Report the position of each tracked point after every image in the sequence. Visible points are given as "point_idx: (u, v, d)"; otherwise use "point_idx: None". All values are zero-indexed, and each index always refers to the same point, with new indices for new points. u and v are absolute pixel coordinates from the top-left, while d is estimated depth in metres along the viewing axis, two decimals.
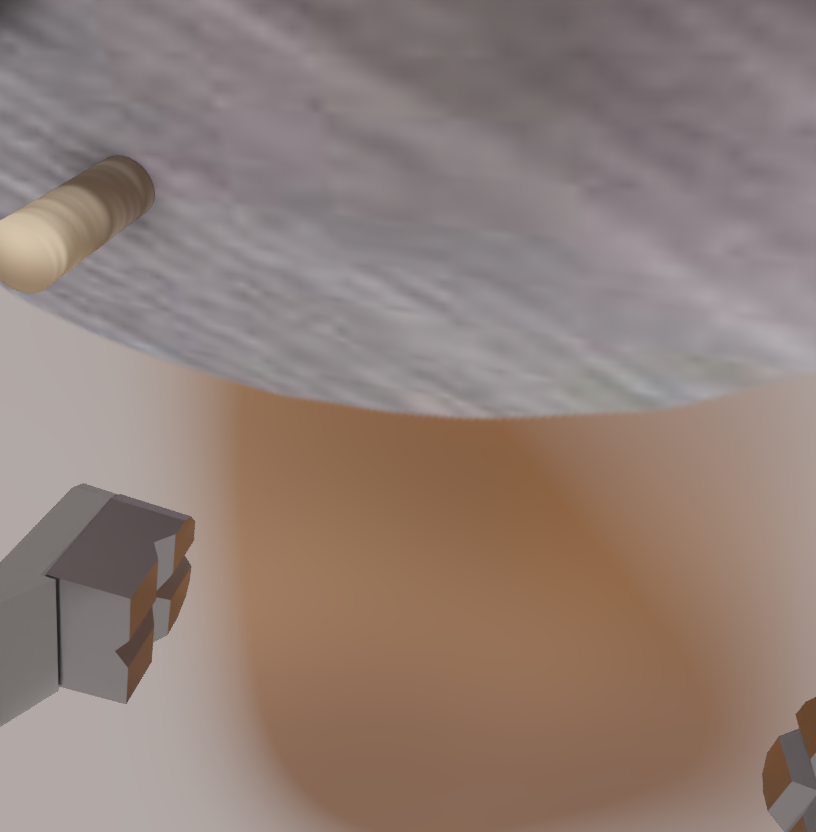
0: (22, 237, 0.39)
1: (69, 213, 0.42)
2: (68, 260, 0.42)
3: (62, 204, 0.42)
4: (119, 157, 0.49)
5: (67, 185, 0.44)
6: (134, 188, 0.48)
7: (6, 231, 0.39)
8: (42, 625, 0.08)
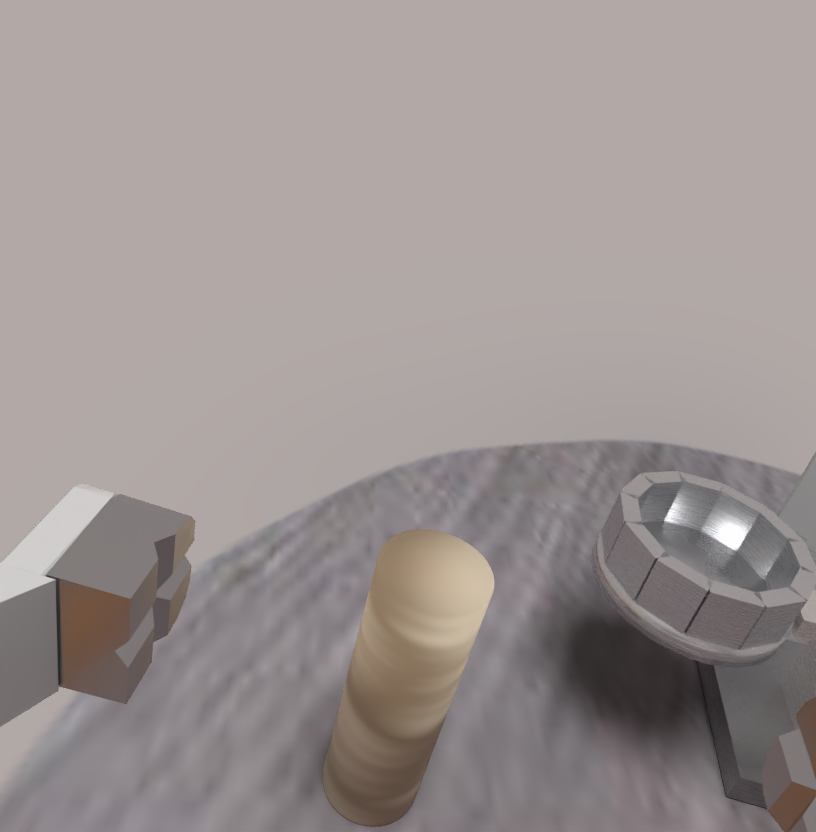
0: (474, 590, 0.25)
1: (455, 675, 0.26)
2: (411, 643, 0.24)
3: (462, 670, 0.27)
4: None
5: None
6: (397, 794, 0.29)
7: (480, 573, 0.26)
8: (42, 625, 0.08)
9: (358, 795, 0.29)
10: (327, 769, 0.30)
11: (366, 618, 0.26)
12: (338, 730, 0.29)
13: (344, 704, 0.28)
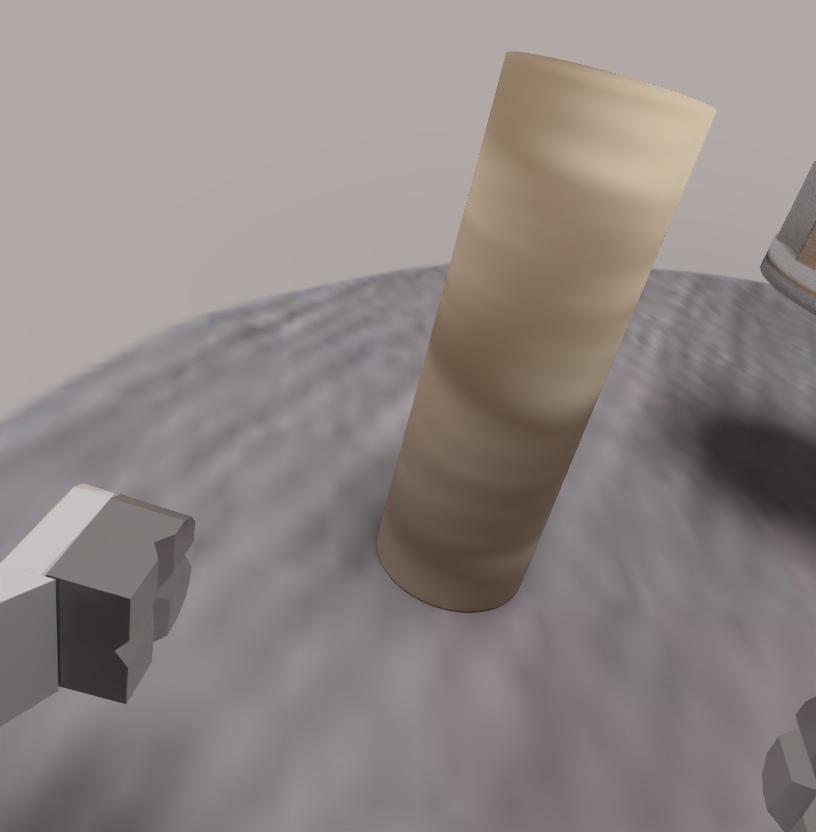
0: (685, 103, 0.14)
1: (634, 289, 0.15)
2: (574, 183, 0.13)
3: (638, 299, 0.15)
4: None
5: None
6: (506, 547, 0.18)
7: (684, 98, 0.14)
8: (42, 625, 0.08)
9: (442, 550, 0.18)
10: (387, 525, 0.19)
11: (478, 183, 0.15)
12: (411, 441, 0.18)
13: (425, 386, 0.17)
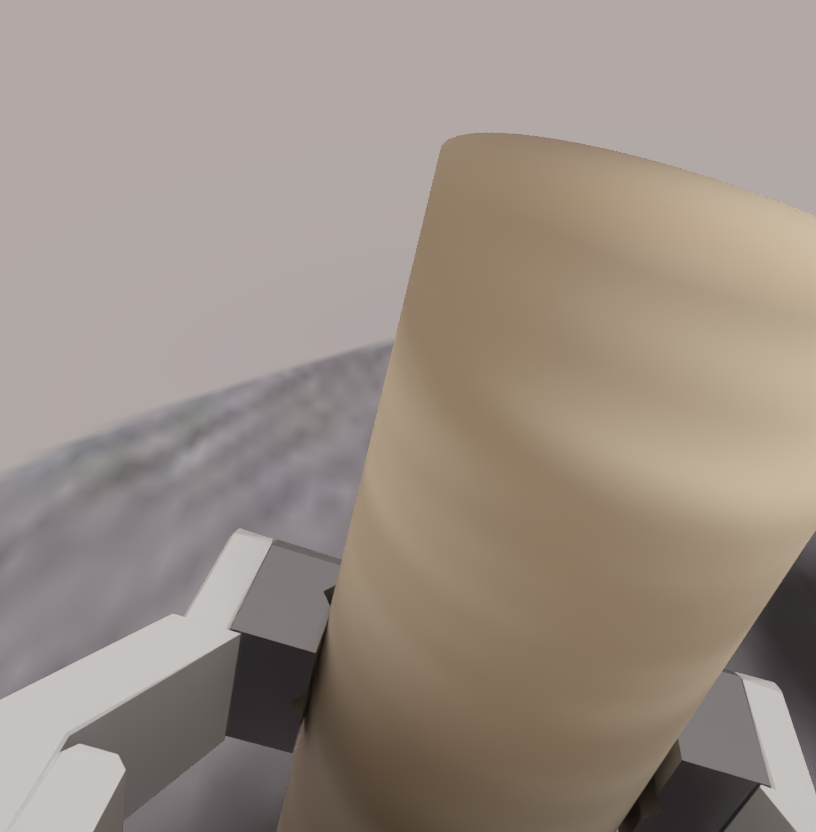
0: None
1: (729, 658, 0.07)
2: (608, 499, 0.05)
3: None
4: None
5: None
6: None
7: None
8: (223, 678, 0.08)
9: None
10: None
11: (385, 430, 0.07)
12: (289, 829, 0.10)
13: (306, 753, 0.09)
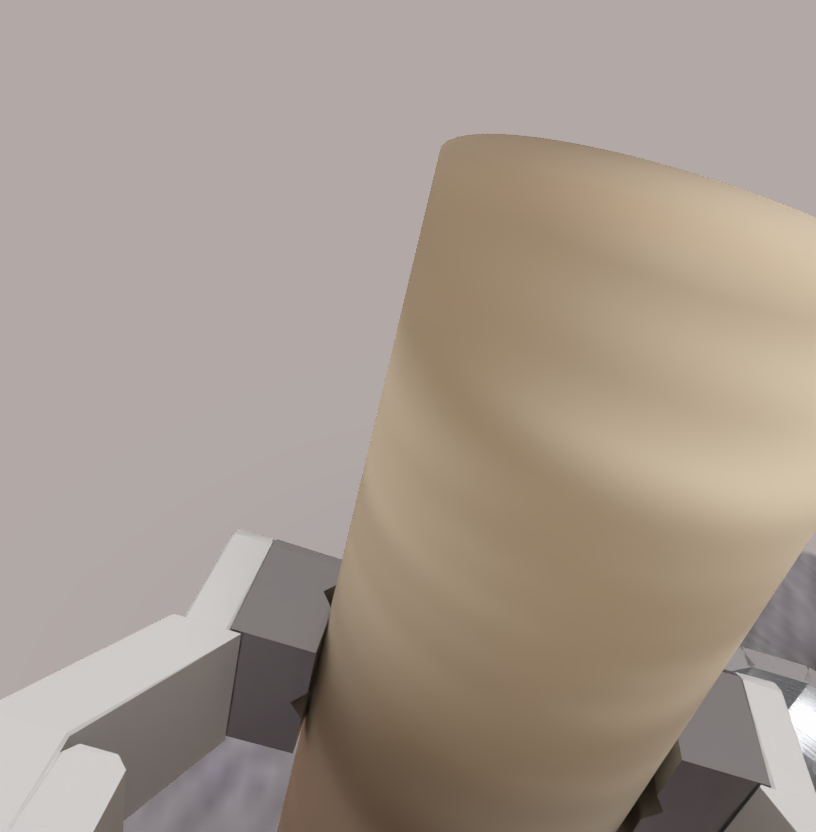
0: None
1: (730, 658, 0.07)
2: (608, 502, 0.05)
3: None
4: None
5: None
6: None
7: None
8: (223, 678, 0.08)
9: None
10: None
11: (385, 431, 0.07)
12: (290, 829, 0.10)
13: (306, 754, 0.09)
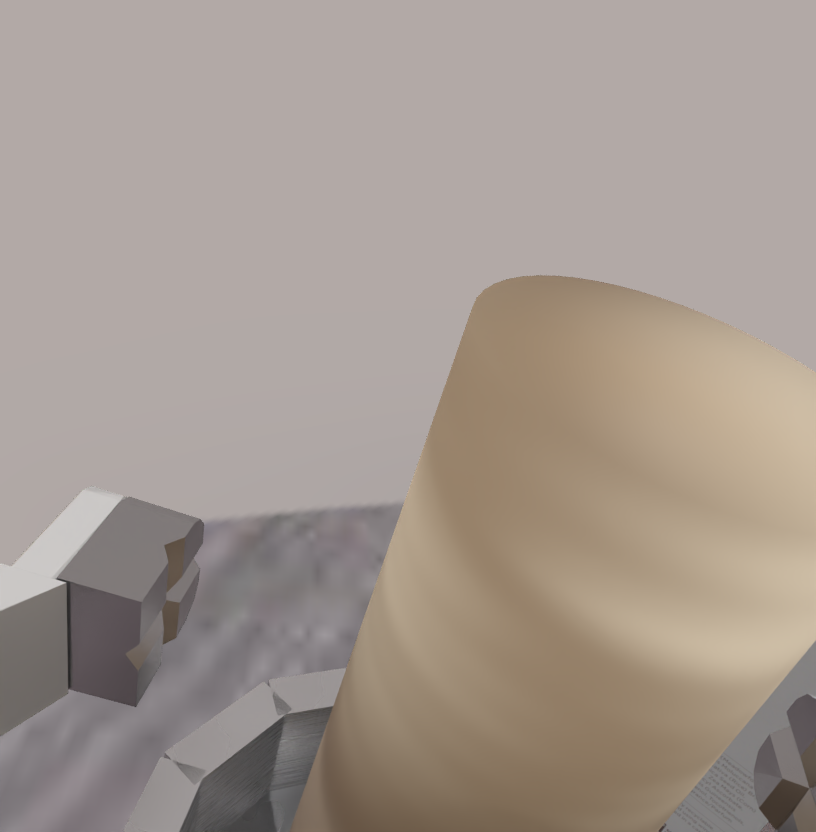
0: None
1: (708, 768, 0.07)
2: (612, 656, 0.06)
3: None
4: None
5: None
6: None
7: None
8: (53, 628, 0.08)
9: None
10: None
11: (407, 555, 0.07)
12: None
13: (312, 820, 0.09)
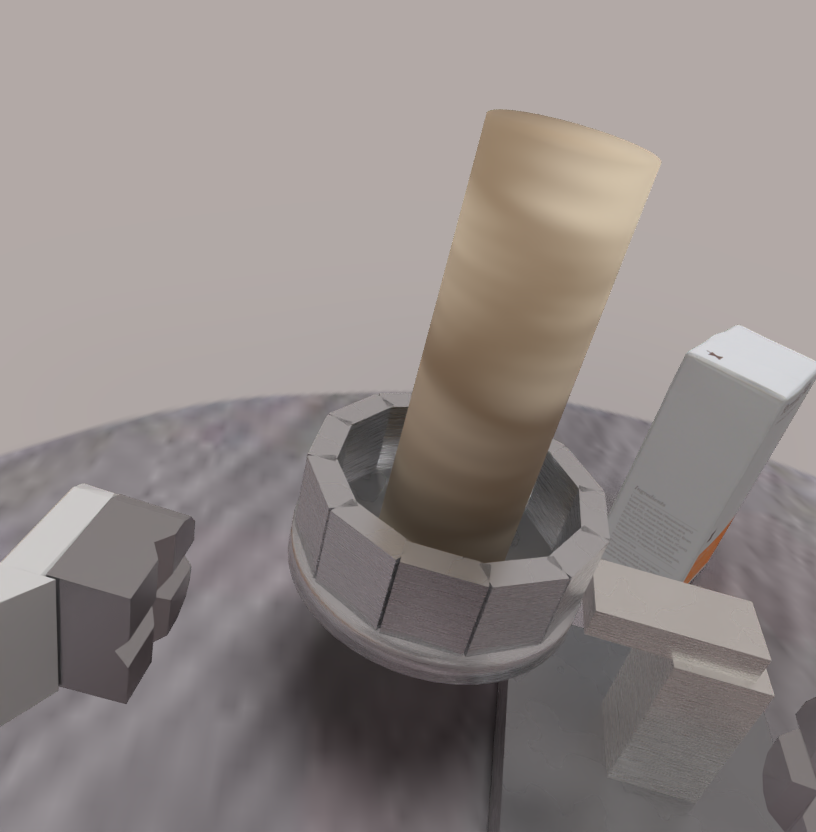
0: (635, 156, 0.16)
1: (595, 310, 0.17)
2: (543, 224, 0.16)
3: (599, 317, 0.18)
4: None
5: None
6: (489, 530, 0.20)
7: (636, 150, 0.17)
8: (42, 625, 0.08)
9: (435, 532, 0.20)
10: (386, 511, 0.22)
11: (464, 221, 0.17)
12: (407, 438, 0.20)
13: (419, 390, 0.20)
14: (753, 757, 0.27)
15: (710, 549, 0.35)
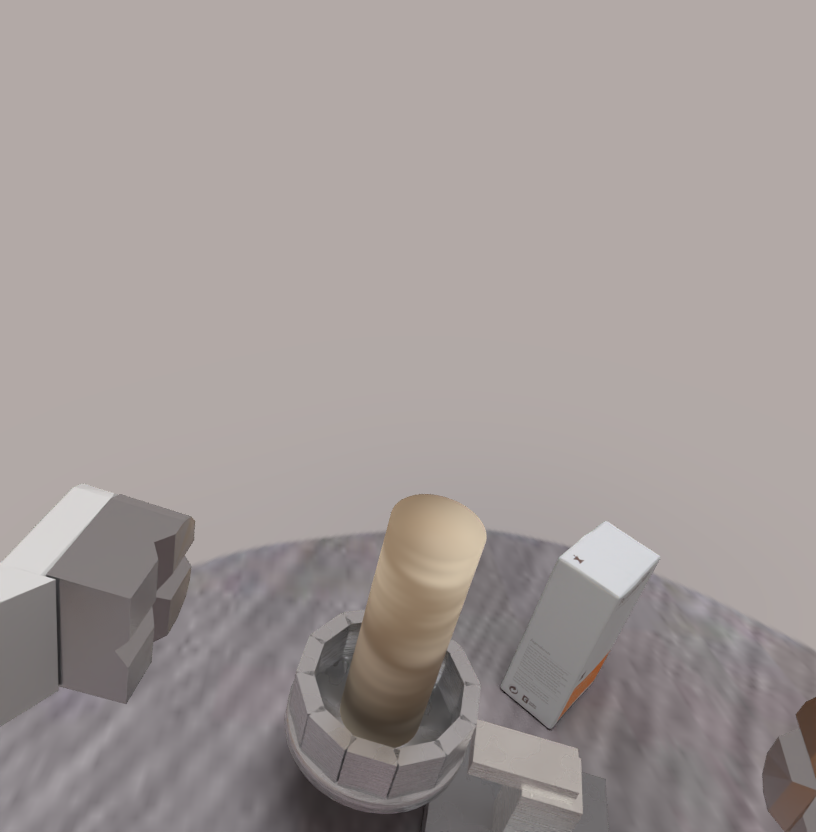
0: (470, 542, 0.30)
1: (454, 614, 0.31)
2: (418, 584, 0.30)
3: (459, 611, 0.32)
4: None
5: None
6: (404, 719, 0.34)
7: (475, 529, 0.31)
8: (42, 625, 0.08)
9: (371, 720, 0.34)
10: (344, 701, 0.36)
11: (380, 566, 0.31)
12: (355, 665, 0.34)
13: (360, 642, 0.34)
14: None
15: (588, 678, 0.48)
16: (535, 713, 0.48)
